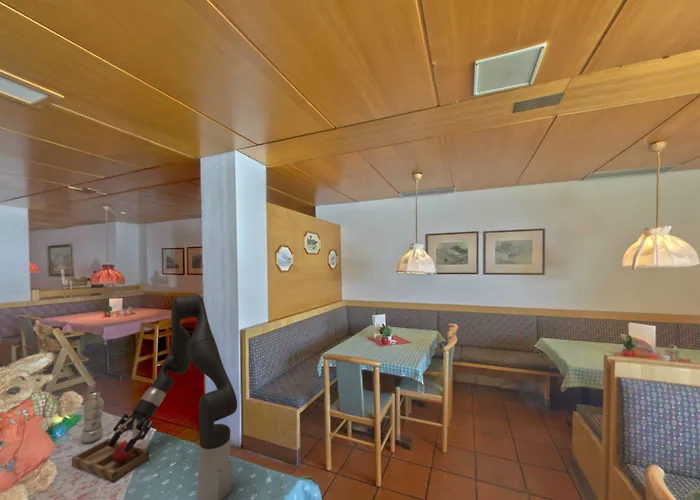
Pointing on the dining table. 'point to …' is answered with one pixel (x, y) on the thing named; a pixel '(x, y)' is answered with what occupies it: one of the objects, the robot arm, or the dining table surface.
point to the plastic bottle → (92, 417)
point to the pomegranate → (121, 453)
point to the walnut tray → (108, 461)
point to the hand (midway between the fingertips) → (117, 448)
